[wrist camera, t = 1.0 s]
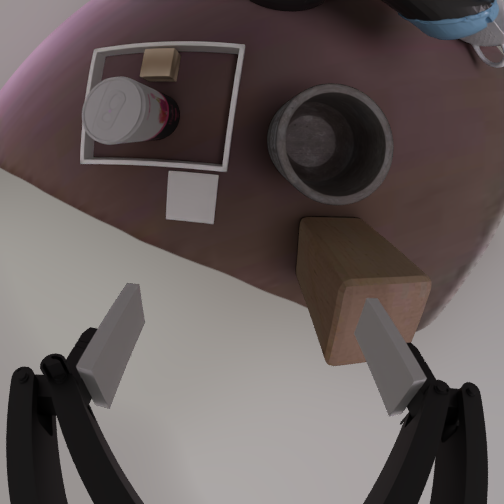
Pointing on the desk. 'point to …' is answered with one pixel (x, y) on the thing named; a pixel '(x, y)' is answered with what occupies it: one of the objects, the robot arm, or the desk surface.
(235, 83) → the bin
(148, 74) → the beech block
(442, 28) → the robot arm
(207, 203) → the pad
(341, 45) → the desk surface
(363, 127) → the planter
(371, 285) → the wooden block
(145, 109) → the beverage can
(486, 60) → the mug
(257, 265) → the desk surface
